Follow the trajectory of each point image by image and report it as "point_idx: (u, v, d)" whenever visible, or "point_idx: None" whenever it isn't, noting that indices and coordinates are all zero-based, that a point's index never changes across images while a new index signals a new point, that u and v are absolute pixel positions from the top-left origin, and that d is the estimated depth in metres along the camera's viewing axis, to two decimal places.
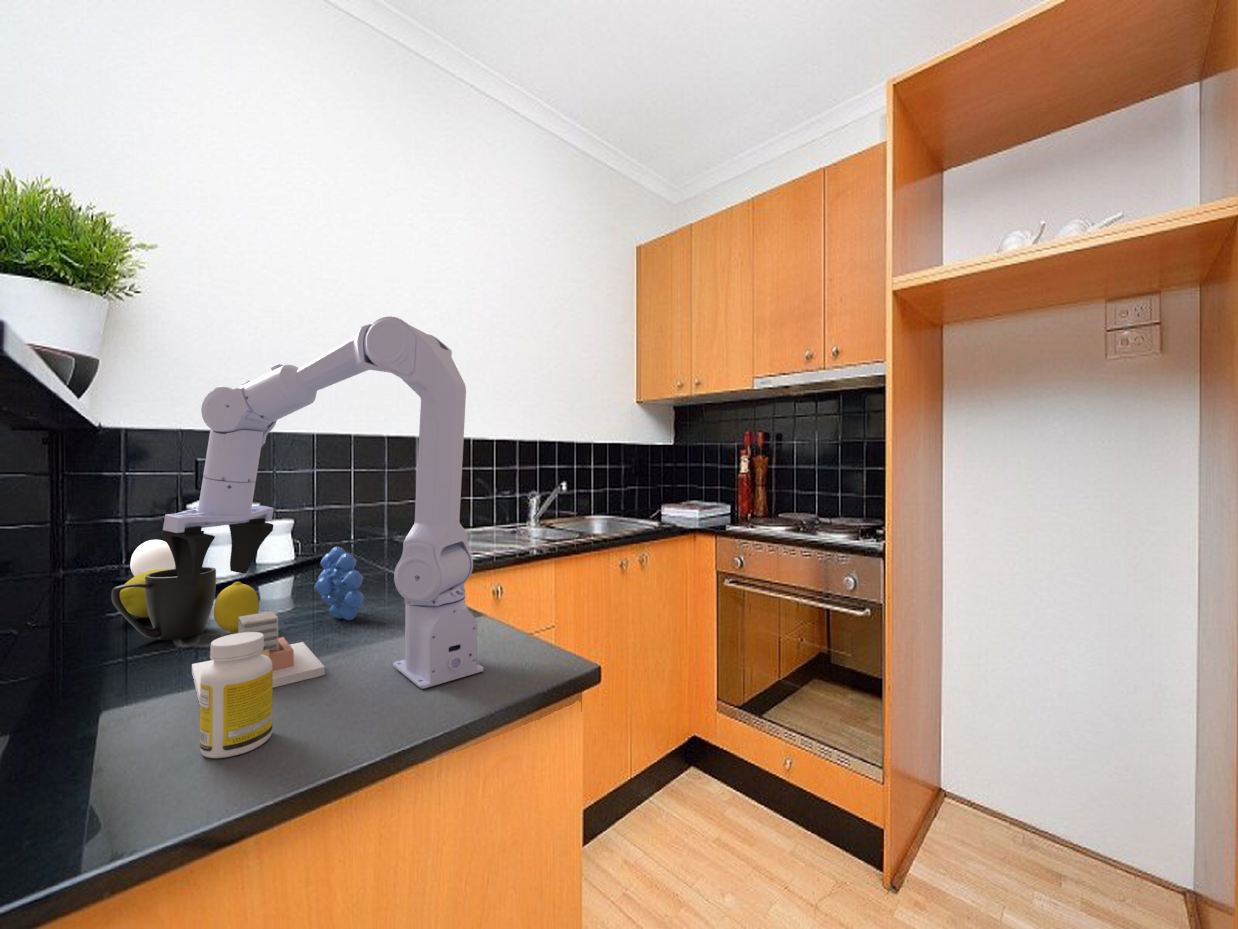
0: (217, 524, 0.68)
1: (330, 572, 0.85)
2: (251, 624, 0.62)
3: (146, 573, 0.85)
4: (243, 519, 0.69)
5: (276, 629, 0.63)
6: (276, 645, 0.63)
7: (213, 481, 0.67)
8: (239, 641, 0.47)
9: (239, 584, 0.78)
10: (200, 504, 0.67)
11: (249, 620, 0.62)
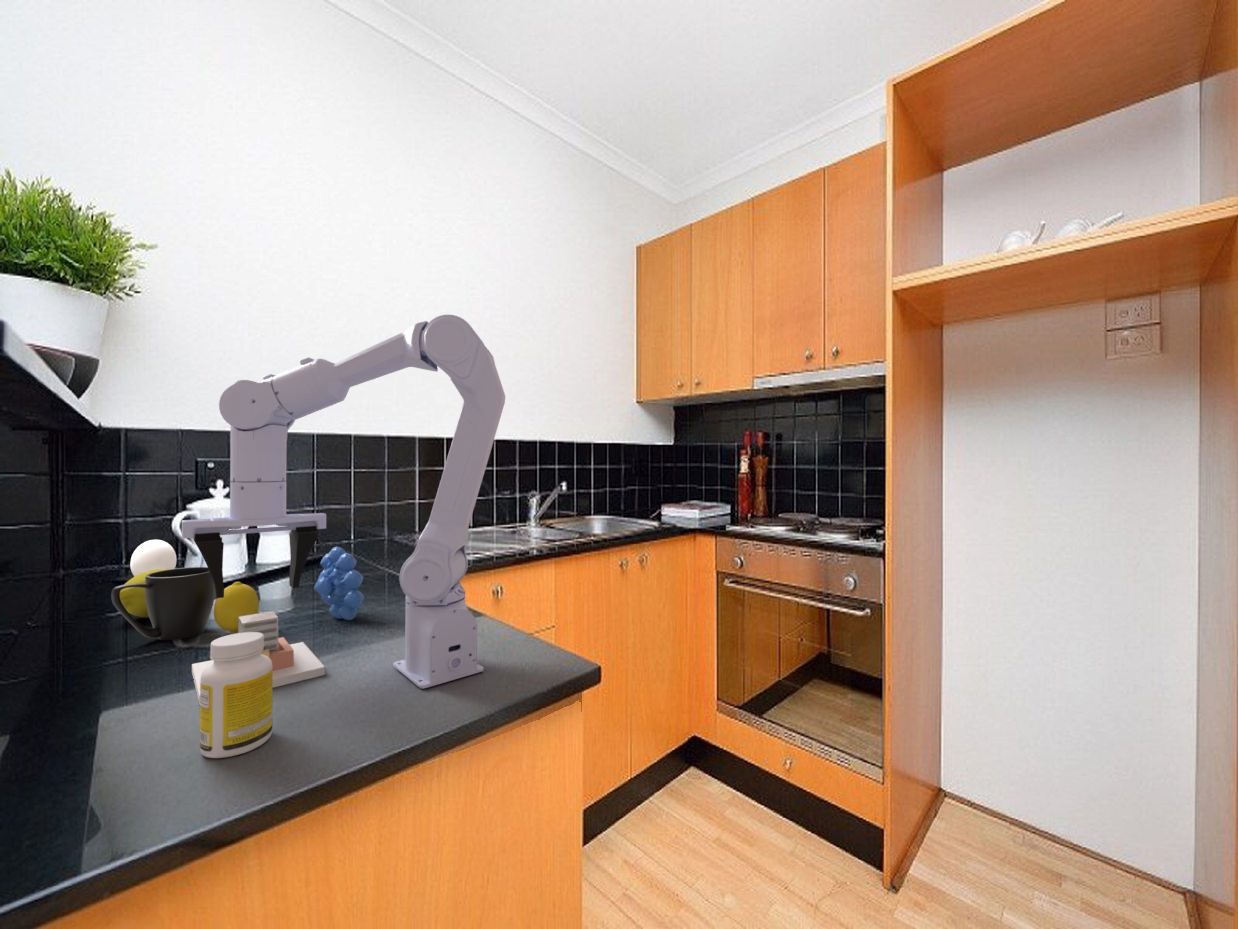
0: (247, 531, 0.63)
1: (330, 572, 0.85)
2: (251, 624, 0.62)
3: (146, 573, 0.85)
4: (261, 524, 0.61)
5: (276, 629, 0.63)
6: (276, 645, 0.63)
7: (231, 483, 0.61)
8: (239, 641, 0.47)
9: (239, 584, 0.78)
10: None
11: (249, 620, 0.62)
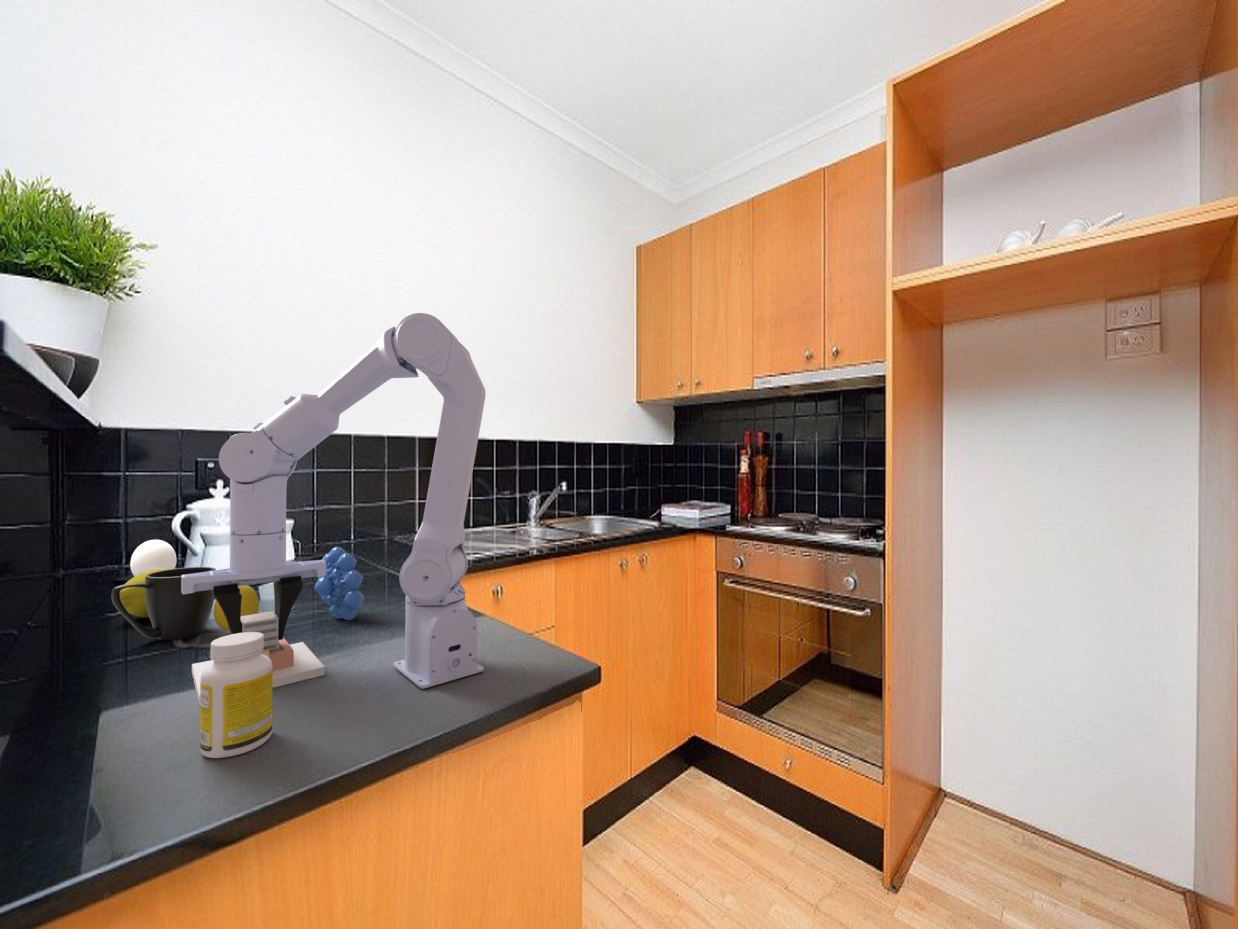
0: (247, 583, 0.63)
1: (330, 572, 0.85)
2: (251, 624, 0.62)
3: (146, 573, 0.85)
4: (261, 576, 0.61)
5: (276, 629, 0.63)
6: (276, 645, 0.63)
7: (231, 536, 0.61)
8: (239, 641, 0.47)
9: None
10: None
11: (249, 620, 0.62)
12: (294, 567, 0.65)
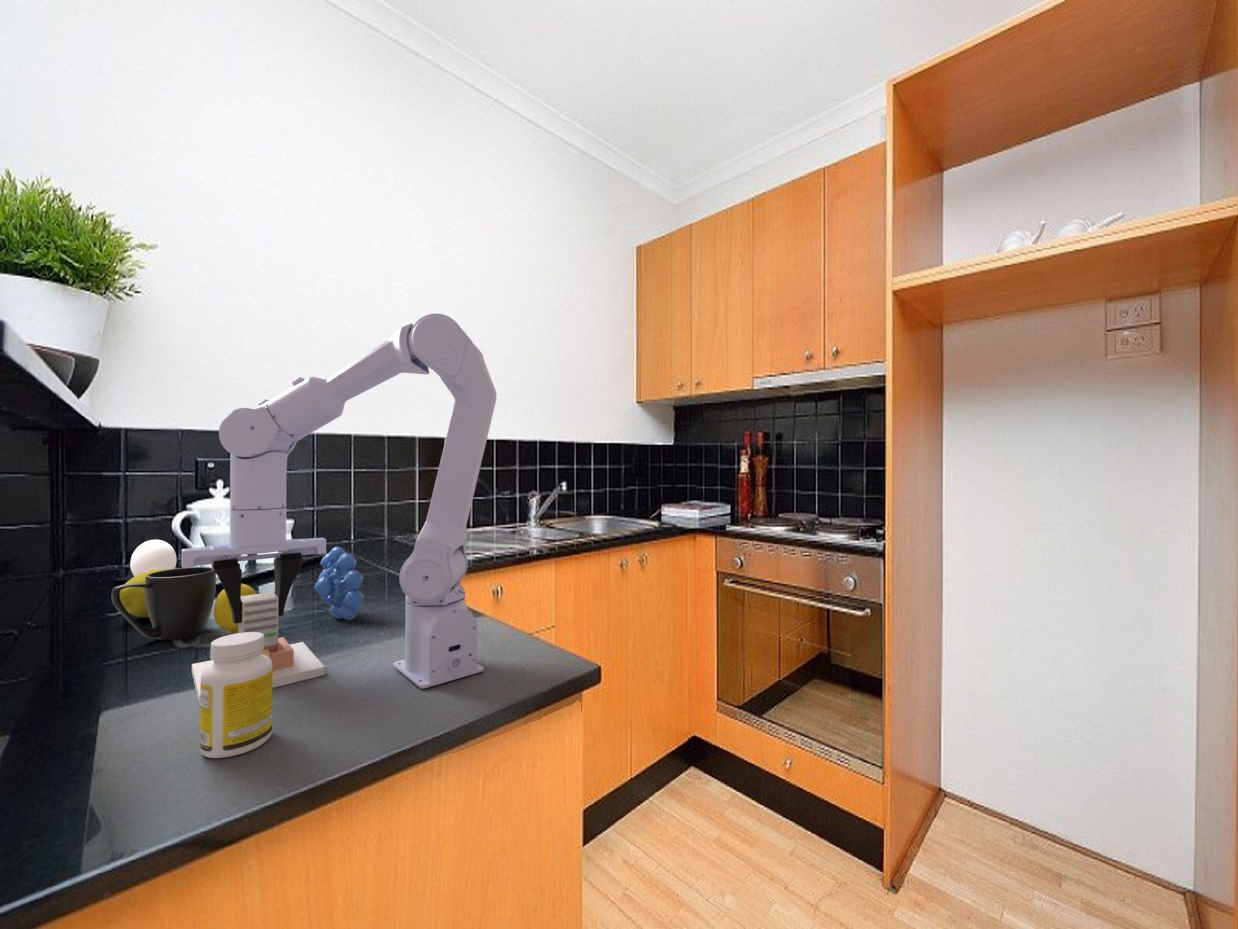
0: (247, 558, 0.63)
1: (330, 572, 0.85)
2: (251, 603, 0.62)
3: (146, 573, 0.85)
4: (261, 551, 0.61)
5: (276, 609, 0.63)
6: (276, 625, 0.63)
7: (231, 511, 0.61)
8: (239, 641, 0.47)
9: None
10: None
11: (249, 599, 0.62)
12: (294, 543, 0.65)
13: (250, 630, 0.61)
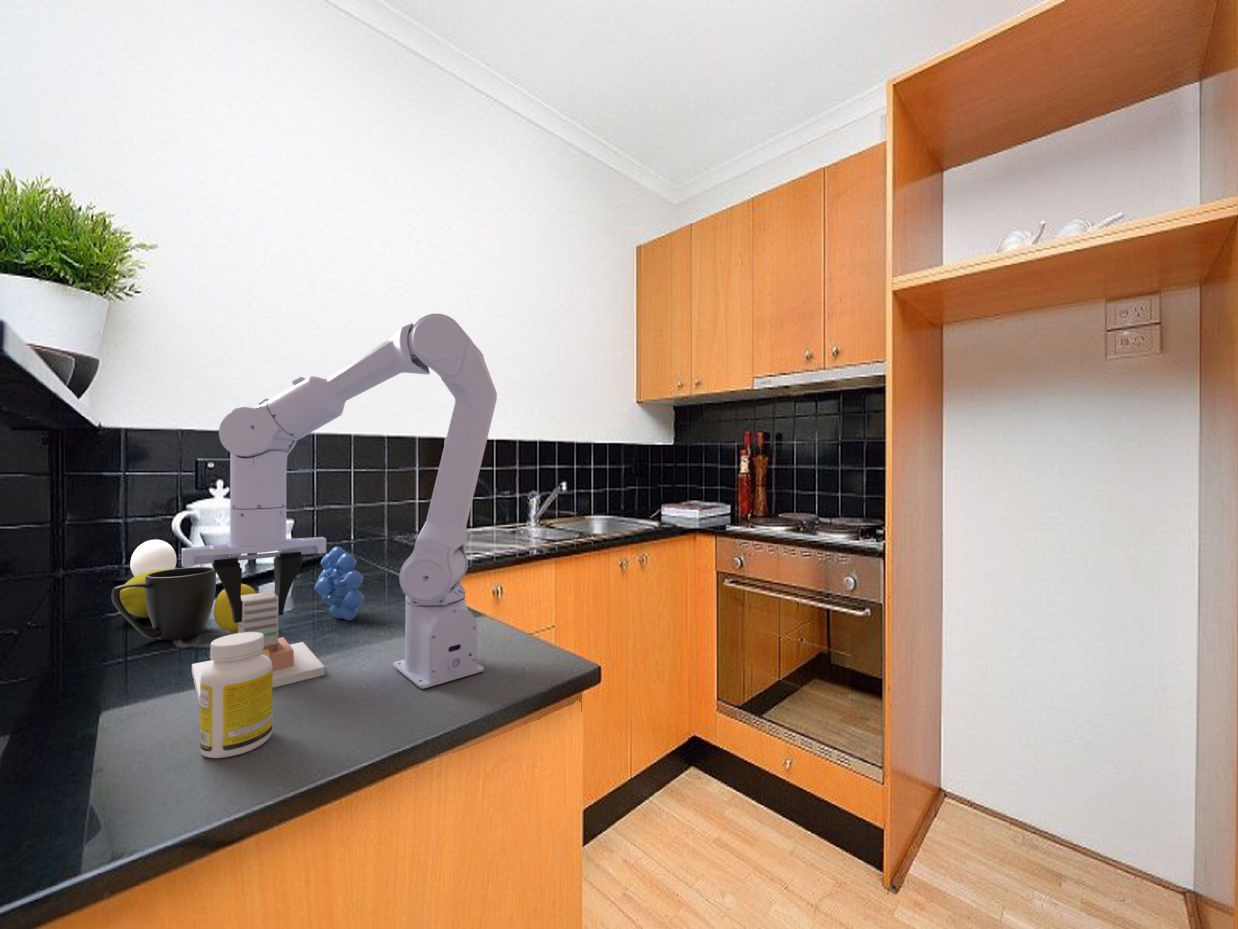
0: (247, 557, 0.63)
1: (330, 572, 0.85)
2: (251, 602, 0.62)
3: (146, 573, 0.85)
4: (261, 550, 0.61)
5: (276, 608, 0.63)
6: (276, 624, 0.63)
7: (231, 510, 0.61)
8: (239, 641, 0.47)
9: None
10: None
11: (249, 599, 0.62)
12: (294, 543, 0.65)
13: (250, 629, 0.61)
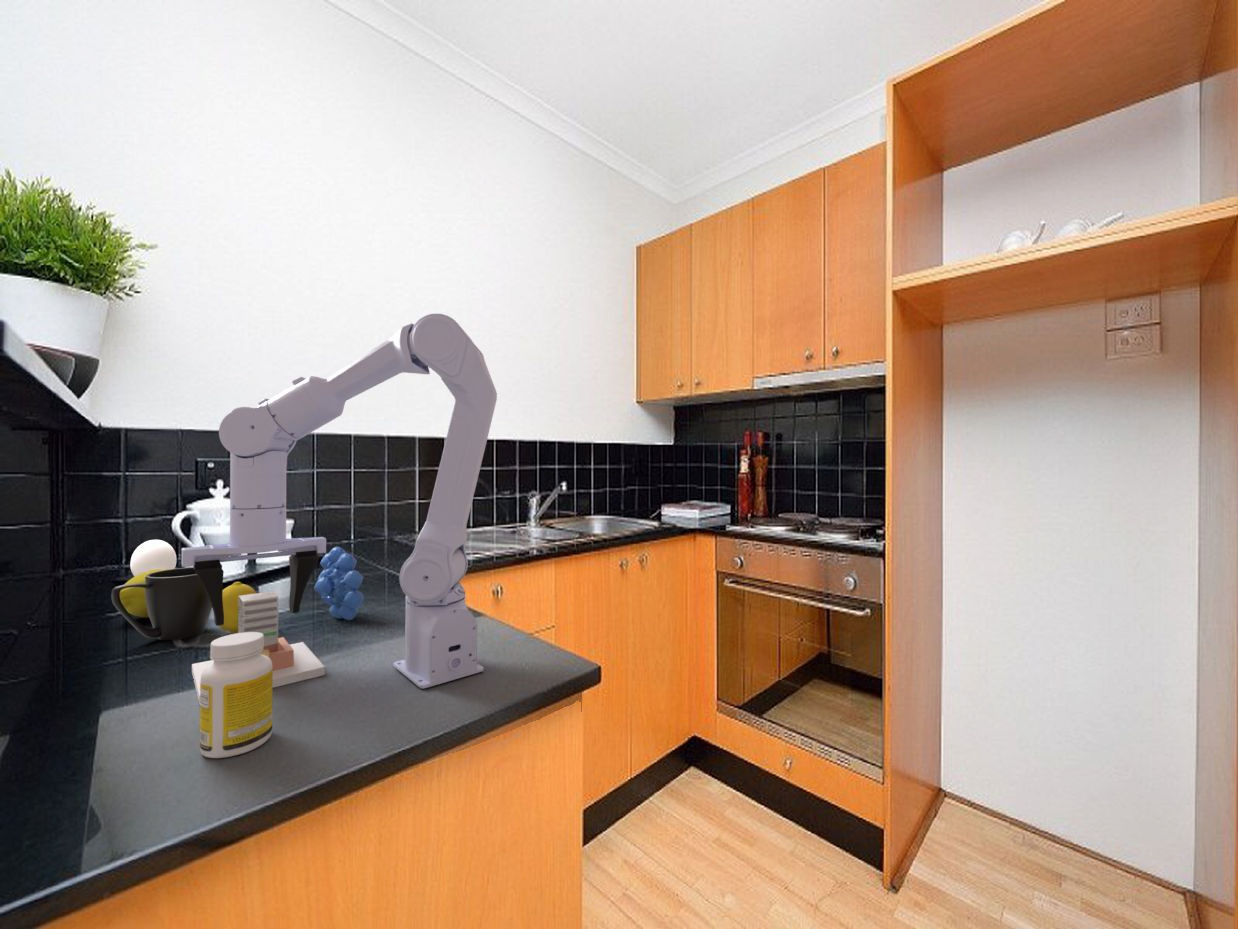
0: (247, 557, 0.63)
1: (330, 572, 0.85)
2: (251, 602, 0.62)
3: (146, 573, 0.85)
4: (261, 550, 0.61)
5: (276, 608, 0.63)
6: (276, 624, 0.63)
7: (231, 510, 0.61)
8: (239, 641, 0.47)
9: (239, 584, 0.78)
10: None
11: (249, 599, 0.62)
12: (294, 542, 0.65)
13: (250, 629, 0.61)
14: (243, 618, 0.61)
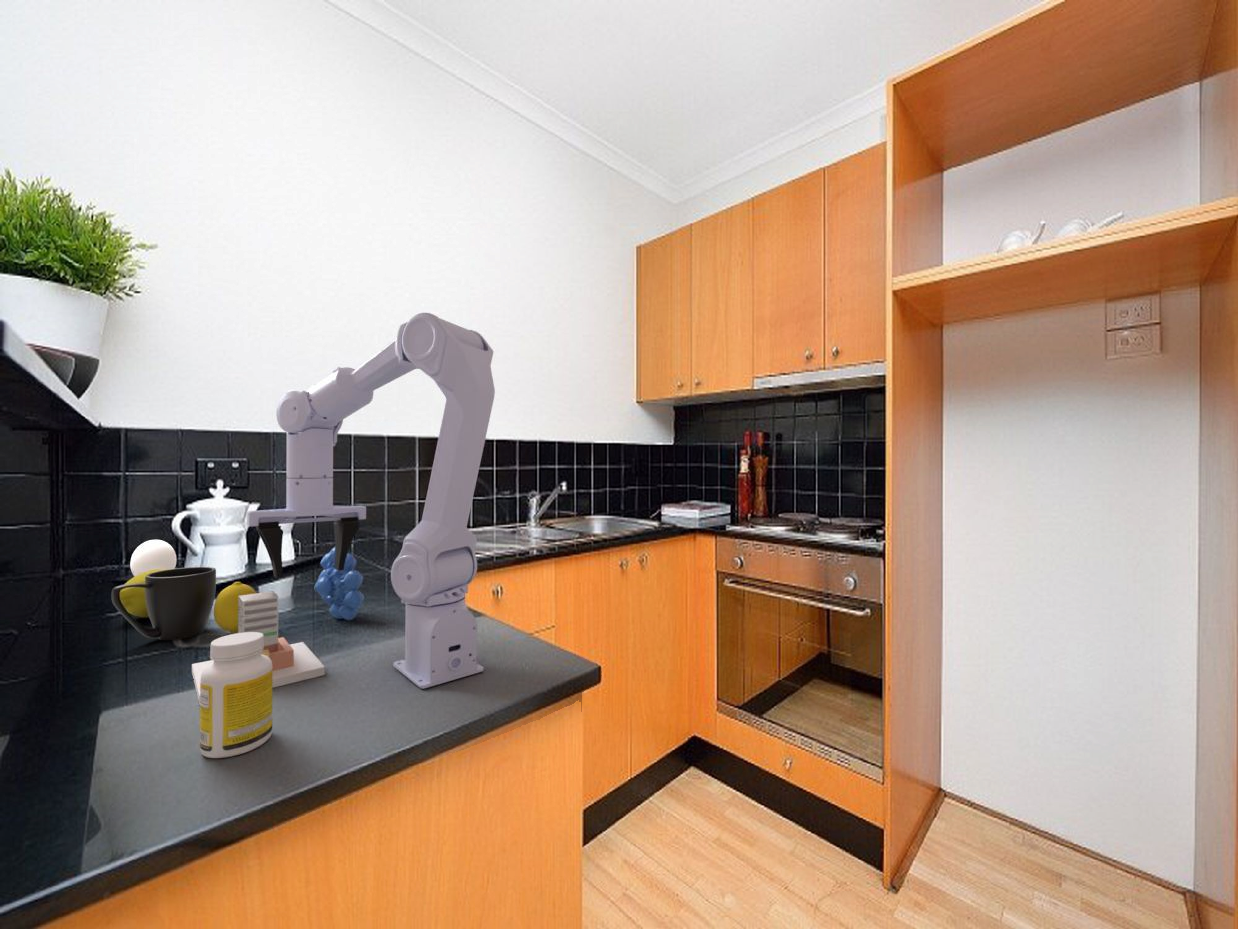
0: (301, 521, 0.73)
1: (330, 572, 0.85)
2: (251, 602, 0.62)
3: (146, 573, 0.85)
4: (314, 514, 0.71)
5: (276, 608, 0.63)
6: (276, 624, 0.63)
7: (287, 479, 0.71)
8: (239, 641, 0.47)
9: (239, 584, 0.78)
10: None
11: (249, 599, 0.62)
12: (340, 509, 0.74)
13: (250, 629, 0.61)
14: (243, 618, 0.61)
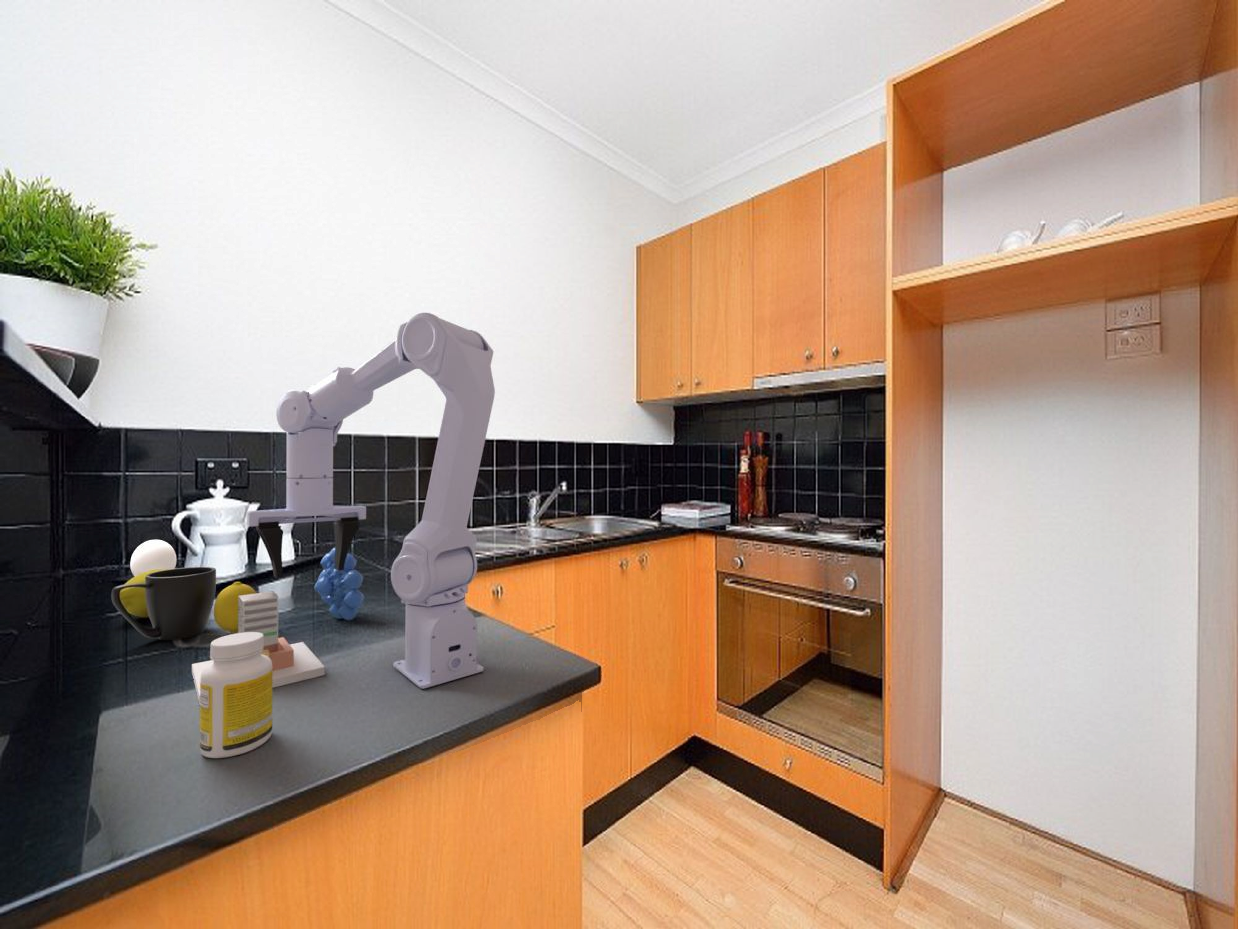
0: (301, 521, 0.73)
1: (330, 572, 0.85)
2: (251, 602, 0.62)
3: (146, 573, 0.85)
4: (314, 514, 0.71)
5: (276, 608, 0.63)
6: (276, 624, 0.63)
7: (287, 479, 0.71)
8: (239, 641, 0.47)
9: (239, 584, 0.78)
10: None
11: (249, 599, 0.62)
12: (340, 509, 0.74)
13: (250, 629, 0.61)
14: (243, 618, 0.61)
